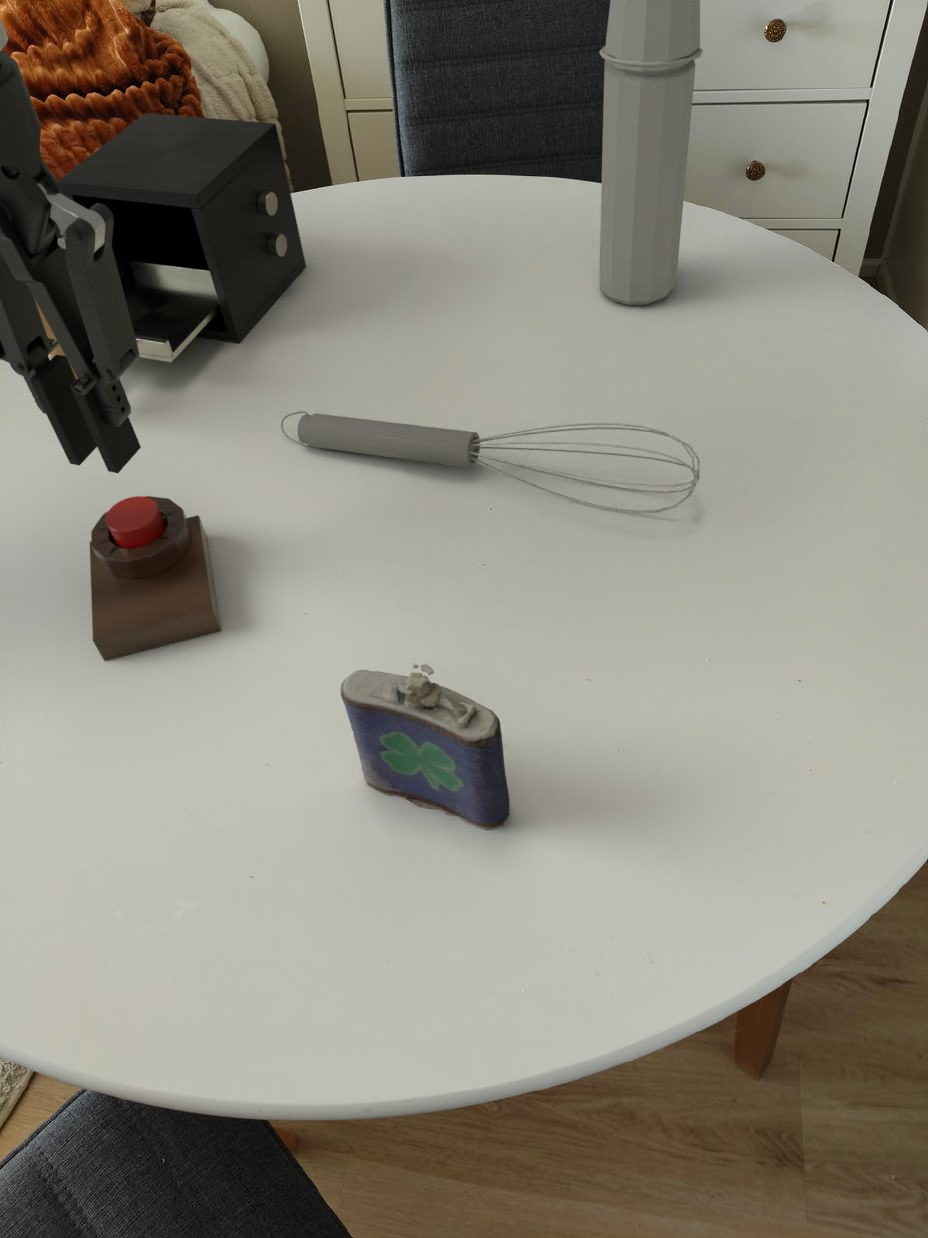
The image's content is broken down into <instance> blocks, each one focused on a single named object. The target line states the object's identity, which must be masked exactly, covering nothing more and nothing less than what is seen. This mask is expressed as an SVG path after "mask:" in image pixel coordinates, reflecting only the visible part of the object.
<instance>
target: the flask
mask: <svg viewBox="0 0 928 1238" xmlns="http://www.w3.org/2000/svg"><path fill="white" fill-rule="evenodd" d="M419 667H420V670H421V672H411V673H410V674H409V676H407V675H402V674H394V673H389V672H384V671H379V670H368V669H359V670H355V671H354V672H353V673H351V674H349V675H348V676H347V677H346V678H345V679H343V680H342V682H341V684H340V697H341V700H342V702H343V705H344V707H345V710H346V714H347V717H348V720H349V724H350V728H351V730H352V734H353V739H354V742H355V745H356V749H357V753H358V757H359V760H360V761H359V762H360V765H361V770H362V773H363V774H362V775H363V777H364V780H365V782H366V783H367V785H369V786H370V787H372V788H373V789H374V790H375V791H377V792H380V793H382V794H383V795H387V796H390V797H391V795H395V796H398V797H400V798H401V799H402V798H403V799H406V801H409V802H410V803H411V804H414V805H417V808H421V807H422V808H424V809H440V810H442V811H444V814H445V816H448V815H449V816H451V815H452V816H456V817H459V818H460V819H461V820H463V823H469V824H472V825H473V826H476V827H478V828H480V829H482V830H492V829H496V828H499V827H505V822H506V821H507V820H508V817H509V816H510V809H511V808H510V791H509V785H508V781H507V774H506V766H505V757H504V756H505V755H504V746H503V745H504V743H503V734H502V727H501V721H500V719H499V716H498V715H497V714H496V713H495V712H494V711H493V710H492V709H490V708H488V707H486V706H485V705H482V704H481V703H478V702H476V701H475V700H473V699H471V698H469V697H468V696H466V695H463V694H462V693H459V692H458V691H455V690H453V689H450V688H447V687H445V686H442V685H440V684H439V683H436V682H431V681H430V679H429V677H428V676H431V675H434V673H435V672H434V669H433V668H432V667H431V666H430V665H429V664H425V663H424V664H421V665H420V666H419V665H418V664H413V665H412V668H413V669H419ZM422 672H424V673H426V674H427V675H428V676H427V675H425V674H424V675H423V673H422Z"/></svg>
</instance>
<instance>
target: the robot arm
mask: <svg viewBox="0 0 928 1238" xmlns="http://www.w3.org/2000/svg"><path fill="white" fill-rule="evenodd" d="M8 41H9V36H8V34H7V31H6V29H5V27H4V23H3V22H2V19H1V18H0V361H1V360H2V361H4V362H6V363H8V364H9V366H10V367H11V369H12V370H13V371H14V372H15V373H16V374H18V375H19V376H21V377H23V380H24V382H25V384H26V385H27V387H28V390H29V392H30V393H31V396H32V397H33V400H34V402H35V404H36V406H37V407H38V409H39V410H40V411H41V412H42V414H45V415H46V417H47V419H48V421H49V423H50V425H51V427H52V429H53V431H54V433H55V436H56V437H57V439H58V442H59V445H61V448H62V450H63V452H64V454H65V456H66V458H67V460H68V462H69V464H70V465H75V466H81V465H82V464H83V463H84V461H85V460H86V459H88V457H89V456H90V455H91V454H92V453H93V452H94V451H95V450H96V449H98V452H99V455H100V456H101V459H102V461H103V463H104V465H105V467H106V469H107V472H109V473H113V474H119V473H120V472H121V471H122V470H123V468H125V466H126V465H127V464H128V463H129V462H130V461H131V459H132V458H134V456H135V455H136V454H137V453H138V452H139V450H141V448H142V445H141V444H140V441H139V438H138V437H137V434H136V431H135V429H134V427H133V424H132V421H131V420H130V415H131V414H132V406H131V404H130V401H129V399H128V396H127V395H126V391H125V388H124V386H123V383H122V382H121V379H120V378H121V377H122V376H123V375H124V374H125V372H127V370H129V368H131V366H133V364H134V363H136V362H137V360H138V359H139V358H140V357H139V350H138V346H137V342H136V338H135V334H134V330H133V327H132V323H131V319H130V315H129V311H128V307H127V303H126V300H125V296H124V292H123V288H122V284H121V280H120V276H119V273H118V269H117V265H116V261H115V257H114V253H113V249H112V246H111V245H112V234H113V224H114V218H113V214H112V212H111V211H110V209H109V208H108V207H106V206H105V205H104V204H101V203H96V204H95V205H94V206H92V207H91V208H90V209H89V210H88V209H86V208H85V207H83V206H81V205H79V204H78V203H76V202H74V201H73V200H71V199H69V198H67V197H66V196H64V195H63V193H62V189H61V186H60V184H59V182H58V179H57V178H56V177H55V175H54V174H53V173H52V172H51V170H50V168H49V167H48V166H47V165H46V163H45V161H44V159H43V157H42V154H41V135H42V124H41V120H40V118H39V115H38V112H37V111H36V107H35V105H34V102H33V100H32V97H31V94H30V92H29V90H28V87H27V85H26V82H25V79H24V76H23V74H22V71H21V69H20V66H19V64H18V61H16V59H15V58H13V57H12V56H10V55H9V54H8V53H6V52H5V51H4V49H5V48H6V46H7V44H8V43H9V42H8ZM35 300H36V302H37V304H38V306H39V308H40V310H41V312H42V313H43V315H44V317H45V319H46V321H47V323H48V324H49V326H50V328H51V330H52V332H53V334H54V335H55V337H56V339H57V341H56V342H55V340H54V339H50V338H48V336H47V334H46V331H45V328H44V325H43V322H42V319H41V316H40V313H39V311H38V308H37V305H36V302H35ZM54 342H55V343H54ZM53 343H54V344H53ZM52 344H53V345H52ZM58 345H60V347H61V348H62V350H63V352H64V354H65V356H62V355H55V356H54V357H53V358H52V359H51V358H50V355H49V354H50V353H51V352H52V351H53V350H54V349H55V348H56V347H58ZM68 361H69V362H68ZM69 363H70V364H69ZM70 365H71V366H70ZM71 367H72V368H71ZM72 369H73V370H74V372H75V374H76V376H77V378H78V379H77V380H76V377H75V375H74V373H73V371H72Z"/></svg>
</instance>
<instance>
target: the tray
mask: <svg viewBox="0 0 928 1238" xmlns="http://www.w3.org/2000/svg"><path fill="white" fill-rule="evenodd" d="M129 264H130V267H131V270H132V273H133V274H132V275H131V276H130V277H129V278H128V279H126V280H125V281H124V282H123V283H122V288H123V292H124V296H125V300H126V303H127V307H128V311H129V315H130V319H131V323H132V327H133V330H134V334H135V338H136V342H137V346H138V350H139V358H141V359H148V360H153V361H154V360H155V361H159V362H160V361H161V362H166V363H173V361H175V359H176V358H177V357H178V356H179V355H180V354H181V353H182V352H183V351H184V350H185V348H186V347H188V345H189V344H190V343H191V342H192V341H193V340H194V339H195V338H196V337H195V336H196V335H197V334H198V333H199V332H200V331H201V330H202V329H203V328H204V327H205V326H206V325H207V323H208V322H209V321H210V320H211V319H212V318H213V317H214V316H215V315H216V314H217V313H218V312H219V310H220V309H221V308H220V305H219V302H218V298H217V295H216V291H215V288H214V285H213V281H212V278H211V274H210V271H209V268H206V267H198V266H190V265H183V264H175V263H167V262H159V261H151V260H144V259H136V258H131V259H130V260H129ZM35 302H36V300H35ZM36 305H37V308H38V311H39V313H40V316H41V319H42V322H43V325H44V328H45V331H46V334H47V336H48V338H50V339H54V340H55V342H56V341H57V339H56V337H55V335H54V334H53V332H52V330H51V328H50V326H49V324H48V323H47V321H46V319H45V317H44V315H43V313H42V312H41V310H40V308H39V306H38V304H37V302H36ZM55 342H54V343H55ZM54 343H53V344H54ZM53 344H52V345H53ZM55 355H62V356H65V354H64V352H63V350H62V348H61V347H60V345H58V347H56V348H55V349H54V350H53V351H52V352H51V353H50V354H49V355H48V356H49V359H50V360H51V359H52V358H53V357H54V356H55ZM68 362H69V361H68ZM69 364H70V363H69ZM70 366H71V365H70ZM71 368H72V367H71ZM72 371H73V373H74V375H75V377H76V380H77V379H78V378H77V376H76V374H75V372H74V370H73V369H72Z"/></svg>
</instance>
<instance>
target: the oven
mask: <svg viewBox="0 0 928 1238" xmlns="http://www.w3.org/2000/svg"><path fill="white" fill-rule="evenodd" d="M57 181H58V182H59V184H60V186H61V189H62V194H63V195H64V196H66V197H67V198H69V199H71V200H73V201H74V202H76V203H78V204H79V205H81V206H83V207H85V208H86V209H88V210H89V209H90V208H91V207H92V206H94V205H95V204H96V203H101V204H104V205H105V206H106V207H108V208H109V209H110V211H111V212H112V214H113V218H114V224H113V234H112V245H111V246H112V249H113V253H114V257H115V261H116V265H117V269H118V273H119V276H120V280H121V284H122V283H123V282H124V281H125V280H126V279H128V278H129V277H130V276H131V275H132V274H133V273H132V270H131V267H130V264H129V260H130V259H131V258H136V259H144V260H151V261H159V262H167V263H175V264H183V265H190V266H198V267H206V268H209V271H210V274H211V278H212V281H213V285H214V288H215V291H216V295H217V298H218V302H219V305H220V308H221V309H220V310H219V312H218V313H217V314H216V315H215V316H214V317H213V318H212V319H211V320H210V321H209V322H208V323H207V325H206V326H205V327H204V328H203V329H202V330H201V331H200V332H199V333H198V334H197V335H196V336H195V337H194V338H200V339H201V338H202V339H209V340H215V341H221V342H228V343H235V344H240V343H241V342H242V341H243V340H244V339H245V338H246V336H247V335H248V334H249V333H250V332H251V331H252V329H253V328H255V326H256V325H257V324H258V323H259V322H260V320H261V319H262V318H263V317H264V316H265V315H266V314H267V312H268V311H269V310H270V309H271V308H272V306H273V305H274V304H275V303H276V302H277V301H278V300H279V299H280V297H281V296H282V295H283V294H284V293H285V292H286V291H287V290H288V289H289V287H290V286H291V285H292V284H293V282H295V280H296V279H297V278H298V277H299V276H300V274H301V273H302V272H304V270H305V269H306V268H307V263H306V259H305V254H304V250H303V249H304V248H303V243H302V239H301V235H300V230H299V226H298V221H297V217H296V213H295V212H296V211H295V209H294V208H295V207H294V202H293V198H292V194H291V188H290V184H289V178H288V175H287V170H286V165H285V161H284V156H283V151H282V146H281V142H280V138H279V133H278V128H277V124H276V123H275V122H265V121H264V122H263V121H262V122H261V121H249V120H237V119H223V118H210V117H199V116H186V115H185V116H184V115H172V114H161V113H160V114H159V113H147V112H145V113H144V114H142V115H141V116H140V117H139V118H137V119H136V120H134V121H133V122H132V123H130V124H129V125H128V126H127V127H125V128H124V129H123V130H122V131H121V132H119V133H118V134H116V135H115V136H114V137H112V138H111V139H110V140H109V141H107V142H106V143H105V144H103V145H102V146H101V147H99V148H98V149H96V150H95V151H94V152H92V154H90V155H88V156H87V158H85V159H84V160H82V161H81V162H80V163H78V164H77V165H76V166H75V167H73V168H72V169H71V170H70V171H68V172H67V173H65V174H64V175H62V176H61V177H60V178H59V179H57Z"/></svg>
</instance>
